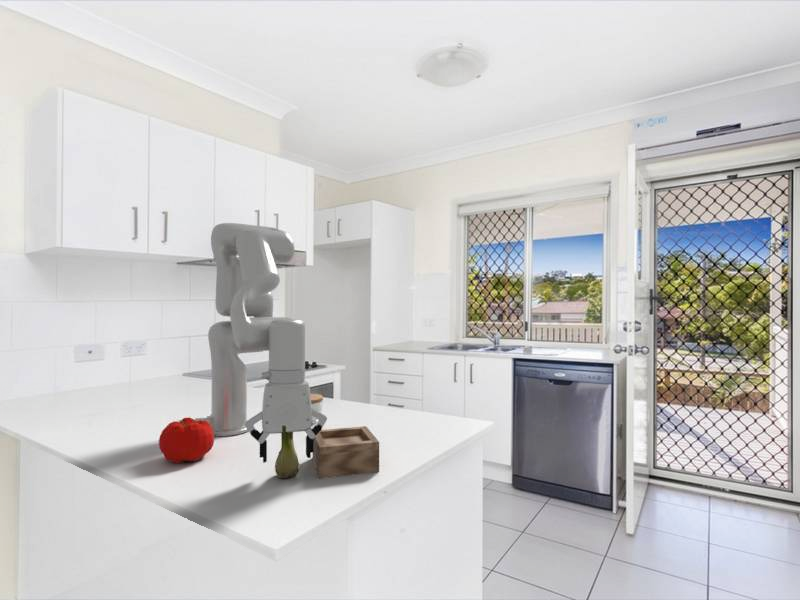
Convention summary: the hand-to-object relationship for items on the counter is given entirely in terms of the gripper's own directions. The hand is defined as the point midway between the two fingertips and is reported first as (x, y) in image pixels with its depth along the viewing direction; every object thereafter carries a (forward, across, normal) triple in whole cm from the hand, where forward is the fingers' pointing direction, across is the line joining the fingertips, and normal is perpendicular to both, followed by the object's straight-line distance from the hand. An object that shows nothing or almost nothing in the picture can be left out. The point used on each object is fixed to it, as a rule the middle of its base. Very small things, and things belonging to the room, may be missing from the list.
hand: (286, 457), depth 95 cm
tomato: (+4, -22, +18) cm, 29 cm away
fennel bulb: (+4, 0, 0) cm, 4 cm away
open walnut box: (+4, +13, +3) cm, 14 cm away
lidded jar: (+4, +8, +43) cm, 44 cm away
